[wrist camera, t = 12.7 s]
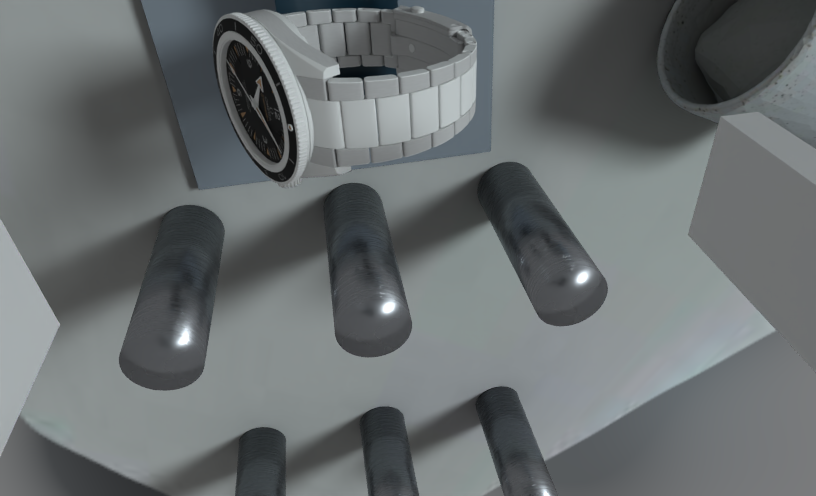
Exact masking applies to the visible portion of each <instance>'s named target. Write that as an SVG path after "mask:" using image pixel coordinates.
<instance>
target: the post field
mask: <svg viewBox="0 0 816 496" xmlns="http://www.w3.org/2000/svg"><path fill="white" fill-rule="evenodd" d="M478 198H479V200H480V202H481V204H482V206H483V208H484V210H485V212H486V214H487V216H488V218H489V220H490V222H491V224H492V226H493V228H494V230H495V232H496V234H497V236H498V238H499V240H500V242H501V244H502V246H503V248H504V250H505V252H506V254H507V256H508V258H509V259H510V261H511V263H512V265H513V267H514V269H515V271H516V273H517V275H518V277H519V279H520V281H521V283H522V285H523V287H524V289H525V291H526V293H527V295H528V297H529V299H530V301H531V303H532V305H533V307H534V309H535V311H536V313H537V314H538V316H539V318H540V319H541V320H543V321H544V322H545V323H547V324H550V325H554V326H569V325H573V324H576V323H579V322H581V321H583V320H585V319H587V318H589V317H590V316H591V315H593V314H594V313H595V312H596V311H597V310H598V309H599V308H600V307H601V305H602V304H603V302H604V301H605V298H606V296H607V291H608V287H607V282H606V280H605V278H604V277H603V275H602V274H601V272H600V271H599V269H598V268H597V267H596V265H595V264H594V262H593V261H592V259H591V258H590V257H589V255H588V254H587V252H586V251H585V249H584V248H583V247H582V245H581V244H580V242H579V241H578V239H577V238H576V236H575V235H574V234H573V232H572V231H571V229H570V228H569V226H568V225H567V224H566V222H565V221H564V219H563V218H562V216H561V215H560V214H559V212H558V211H557V209H556V208H555V206H554V205H553V203H552V202H551V201H550V199H549V198H548V196H547V195H546V193H545V192H544V191H543V189H542V188H541V186H540V185H539V183H538V182H537V181H536V179H535V178H534V176H533V175H532V173H531V172H530V171H529V169H528V168H527V167H525V166H524V165H522V164H520V163H516V162H506V163H502V164H499V165H496V166H494V167H493V168H491V169H490V170H489V171H488V172H486V174H485V175H484V176H483V177H482V179H481V181H480V183H479V186H478ZM324 219H325V230H326V241H327V251H328V262H329V273H330V284H331V295H332V305H333V316H334V327H335V336H336V340H337V342H338V343H339V345H340V346H341V347H342V348H343V349H344V350H345V351H347V352H349V353H351V354H353V355H356V356H361V357H378V356H382V355H386V354H388V353H391V352H393V351H395V350H396V349H398V348H399V347H400V346H402V345H403V344H404V343H405V342H406V340H407V339H408V337H409V335H410V333H411V329H412V321H411V317H410V312H409V308H408V304H407V300H406V296H405V292H404V288H403V284H402V280H401V276H400V272H399V268H398V264H397V260H396V256H395V252H394V248H393V244H392V240H391V236H390V232H389V228H388V224H387V220H386V216H385V212H384V208H383V204H382V200H381V198H380V196H379V194H378V193H377V192H376V191H375V190H374V189H372V188H371V187H369V186H367V185H364V184H360V183H349V184H345V185H342V186H339V187H338V188H336V189H335V190H333V191H332V192H331V193H330V194H329V195H328V197H327V199H326V201H325V204H324ZM224 235H225V230H224V226H223V223H222V222H221V220H220V219H219V217H218V216H217V215H216V214H214V213H213V212H212V211H210V210H208V209H206V208H204V207H200V206H195V205H184V206H180V207H177V208H174V209H172V210H171V211H169V212H168V213H167V214H166V215H165V217H164V218H163V220H162V223H161V226H160V229H159V232H158V236H157V239H156V242H155V245H154V248H153V251H152V255H151V258H150V261H149V264H148V267H147V270H146V273H145V277H144V280H143V283H142V286H141V289H140V292H139V296H138V299H137V302H136V305H135V308H134V311H133V314H132V318H131V321H130V324H129V327H128V330H127V333H126V337H125V340H124V343H123V346H122V349H121V352H120V356H119V364H120V368H121V370H122V372H123V373H124V374H125V376H126V377H127V378H129V379H130V380H131V381H132V382H134V383H136V384H138V385H140V386H142V387H145V388H149V389H153V390H175V389H180V388H183V387H185V386H188V385H190V384H191V383H193V382H194V381H196V380H197V379H198V378H199V377H200V375H201V374H202V372H203V369H204V365H205V358H206V352H207V345H208V339H209V332H210V326H211V319H212V313H213V306H214V300H215V294H216V287H217V281H218V274H219V268H220V261H221V255H222V248H223V242H224ZM476 409H477V413H478V416H479V419H480V422H481V425H482V428H483V431H484V434H485V437H486V440H487V444H488V447H489V450H490V453H491V456H492V459H493V462H494V465H495V468H496V472H497V475H498V478H499V481H500V484H501V487H502V490H503V493H504V496H558V494H557V491H556V489H555V487H554V484H553V482H552V479H551V477H550V474H549V472H548V469H547V467H546V464H545V462H544V459H543V457H542V454H541V452H540V449H539V447H538V444H537V442H536V439H535V437H534V434H533V432H532V429H531V427H530V424H529V422H528V419H527V417H526V414H525V412H524V409H523V407H522V404H521V402H520V400H519V397H518V395H517V393H516V391H515V390H513V389H511V388H509V387H496V388H492V389H490V390H488V391H486V392H484V393H483V394H482V395H481V396H480V397H479V398H478V399H477V402H476ZM360 429H361V438H362V446H363V454H364V463H365V471H366V479H367V488H368V496H419V493H418V487H417V482H416V477H415V472H414V467H413V462H412V457H411V452H410V446H409V441H408V436H407V431H406V426H405V421H404V416H403V414H402V413H401V412H400V411H399V410H398V409H395V408H392V407H379V408H375V409H373V410H370V411H369V412H367V413H366V414H365V415H364V416H363V417H362V418H361V421H360ZM235 496H286V439H285V436H284V435H283V434H282V433H281V432H280V431H278V430H276V429H272V428H256V429H253V430H250V431H248V432H246V433H245V434H244V435H243V436H242V437H241V439H240V442H239V453H238V466H237V479H236V491H235Z"/></svg>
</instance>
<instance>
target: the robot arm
mask: <svg viewBox="0 0 816 496" xmlns="http://www.w3.org/2000/svg"><path fill="white" fill-rule="evenodd" d="M688 235H689V236H690V237H691V239H692V240H693V241H694V242H695V243H696V244H697V245H698V246H699V247H700V248H701V249H702V250H703V251H704V253H705V254H706V255H707V256H708V257H709V258H710V259H711V260H712V261H713V262H714V263H715V264H716V266H717V267H718V268H719V269H720V270H721V271H722V272H723V273H724V274H725V275H726V276H727V277H728V278H729V280H730V281H731V282H732V283H733V284H734V285H735V286H736V287H737V288H738V289H739V290H740V291H741V293H742V294H743V295H744V296H745V297H746V298H747V299H748V300H749V301H750V302H751V303H752V304H753V306H754V307H755V308H756V309H757V310H758V311H759V312H760V313H761V314H762V315H763V316H764V317H765V318H766V320H767V321H768V322H769V323H770V324H771V325H772V326H773V327H774V328H775V329H776V330H777V331H778V333H780V335H781V336H782V337H783V338H784V339H785V340H786V341H787V342H788V343H789V344H790V346H791V347H792V348H793V349H794V350H795V351H796V352H797V353H798V354H799V355H800V356H801V357H802V358H803V360H804V361H805V362H806V363H807V364H808V365H809V366H810V367H811V368H812V369H813V370H814V371H815V372H816V149H815V148H813V147H812V146H810V145H809V144H807V143H806V142H804V141H803V140H801V139H800V138H798V137H796V136H795V135H793V134H792V133H790V132H789V131H787V130H786V129H784V128H783V127H781V126H780V125H778V124H777V123H775V122H773V121H772V120H770V119H769V118H767V117H766V116H764V115H763V114H761V113H760V112H751V113H743V114H736V115H728V116H720V120H719V124H718V127H717V131H716V135H715V138H714V142H713V145H712V149H711V153H710V156H709V160H708V164H707V167H706V171H705V175H704V178H703V182H702V185H701V189H700V193H699V196H698V200H697V204H696V207H695V211H694V215H693V218H692V222H691V225H690V229H689V233H688ZM59 326H60V324H59V322H58V320H57V318H56V317H55V315H54V313H53V311H52V309H51V308H50V306H49V304H48V302H47V301H46V299H45V297H44V295H43V293H42V292H41V290H40V288H39V286H38V285H37V283H36V281H35V279H34V278H33V276H32V274H31V272H30V270H29V269H28V267H27V265H26V263H25V262H24V260H23V258H22V256H21V254H20V253H19V251H18V249H17V247H16V246H15V244H14V242H13V240H12V239H11V237H10V235H9V233H8V231H7V230H6V228H5V226H4V224H3V223H2V221H1V219H0V456H1V454H2V451H3V449H4V447H5V445H6V443H7V440H8V438H9V436H10V434H11V432H12V429H13V427H14V425H15V423H16V421H17V418H18V416H19V414H20V412H21V410H22V407H23V405H24V403H25V401H26V399H27V396H28V394H29V392H30V390H31V388H32V385H33V383H34V381H35V379H36V377H37V374H38V372H39V370H40V368H41V365H42V363H43V361H44V359H45V357H46V354H47V352H48V350H49V348H50V346H51V343H52V341H53V339H54V337H55V335H56V332H57V330H58V328H59Z"/></svg>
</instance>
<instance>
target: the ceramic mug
mask: <svg viewBox="0 0 816 496" xmlns="http://www.w3.org/2000/svg"><path fill="white" fill-rule="evenodd" d="M657 70H658V75H659V79H660V82H661V85H662V87H663V89H664V91H665V92H666V94H667V96H668V97H669V98H670V99H671V100H672V101H673V102H674V103H675V104H676V105H678V106H679V107H681V108H682V109H684V110H686V111H688V112H690V113H693V114H695V115H698V116H700V117H703V118H706V119H709V120H711V121H714V122H716V123H718V124H719V120H720V116H728V115H736V114H743V113H751V112H760V113H761V114H763V115H764V116H766V117H767V118H769V119H770V120H772V121H773V122H775V123H777V124H778V125H780V126H781V127H783V128H784V129H786V130H787V131H789V132H790V133H792V134H793V135H795V136H796V137H798V138H800V139H801V140H803V141H804V142H806V143H807V144H809V145H810V146H812V147H813V148H815V149H816V0H676V2H675V3H674V5H673V7H672V9H671V11H670V13H669V14H668V17H667V19H666V22H665V25H664V28H663V30H662V33H661V36H660V42H659V47H658V52H657Z"/></svg>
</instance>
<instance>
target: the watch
mask: <svg viewBox="0 0 816 496" xmlns="http://www.w3.org/2000/svg"><path fill="white" fill-rule="evenodd" d="M275 6H276V12H274V11H271V10H266V9H263V10H256V11H252V12H248V13H243V14H242V13H239V12H238V13H237V12H236V13H230V14H226V15H224V16H222V17H221V18H220V19H219V20H218V22H217V24H216V26H215V30H214V36H213V60H214V68H215V74H216V79H217V83H218V87H219V91H220V94H221V98H222V101H223V104H224V107H225V110H226V112H227V115H228V117H229V120H230V122H231V124H232V127H233V129H234V131H235V133H236V135H237V137H238V139H239V141H240V142H241V144H242V146H243V147H244V149H245V151H246V152H247V154H248V155H249V157H250V158H251V160H252V161H253V162H254V164H255V165H256V166H257V167H258V168H259V170H261V172H262V173H263V174H265V176H267V177H268V178H269V179H271V180H272V181H274V182H275V183H278V185H279V186H281V187H284V188H291V187H295V186H297V185H299V184H300V183H301V182H302V178H308V177H326V176H336V175H342V174H344V173H347V172H349V171H351V166H353V165H362V164H368V163H370V153H371V162H372V163H380V162H385V161H390V160H395V159H399V158H402V157H403V156H404V157H409V156H412V155H415V154H418V153H421V152H423V151H426V150H428V149H430V148H431V147H437V146H439V145H441V144H443V143H444V142H446V141H448V140H449V139H451V138H453V137H454V135H456V134H458V133H459V132H460V131H461V130H463V129H464V128H465V127H466V126H467V125H468V123H469V121H471V119H472V118H473V116H474V113H475V107H476V69H477V57H476V56H477V42H476V39H475V38H474V37H473V35H472V30H471V28H470V27H469V26H467V25H465V24H463V23H461V22H459V21H456V20H454V19H451V18H448V17H446V16H443V15H440V14H436V13H433V12H429V11H425V10H424V8H423V7H420V6H413V7H407V6H401V5H400V6H399V7H398V0H275ZM376 111H377V117H376ZM377 123H378V129H377ZM378 135H379V141H378ZM369 148H370V153H369Z"/></svg>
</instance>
